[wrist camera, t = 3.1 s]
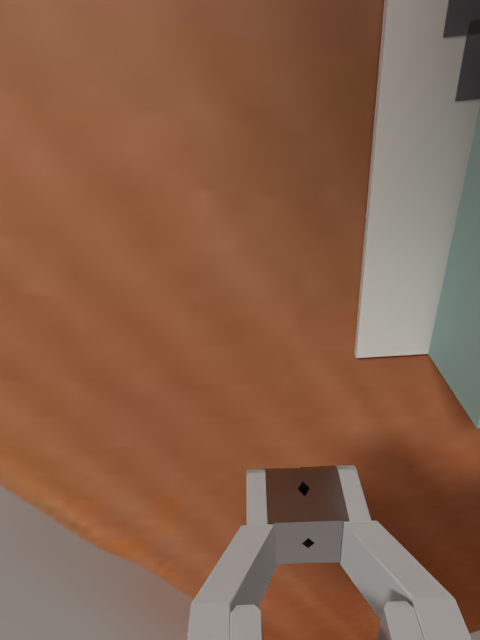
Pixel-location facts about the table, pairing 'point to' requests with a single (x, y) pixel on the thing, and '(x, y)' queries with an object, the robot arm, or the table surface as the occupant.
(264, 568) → the robot arm
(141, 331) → the table surface
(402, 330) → the card
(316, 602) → the table surface
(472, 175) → the gate panel
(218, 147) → the table surface
